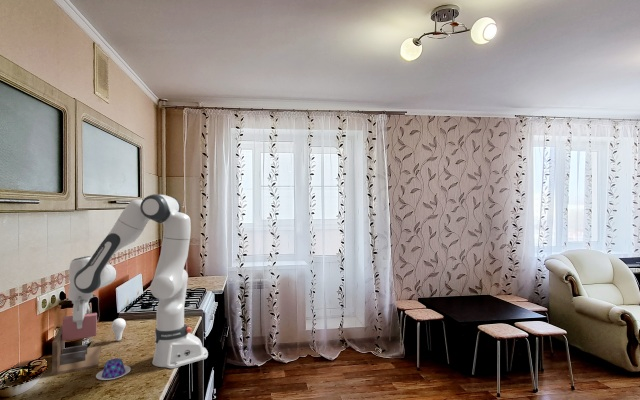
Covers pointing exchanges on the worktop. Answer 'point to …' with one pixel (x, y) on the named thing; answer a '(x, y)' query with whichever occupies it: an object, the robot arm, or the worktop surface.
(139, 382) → the worktop surface
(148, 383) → the worktop surface
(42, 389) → the worktop surface
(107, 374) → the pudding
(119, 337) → the lightbulb
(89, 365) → the shelf stand
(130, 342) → the worktop surface
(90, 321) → the book
